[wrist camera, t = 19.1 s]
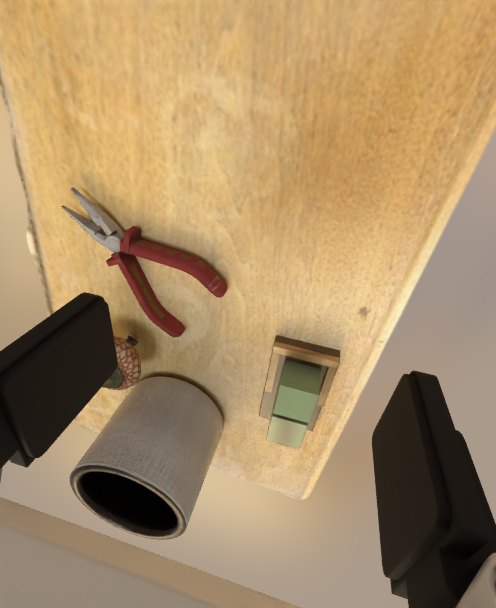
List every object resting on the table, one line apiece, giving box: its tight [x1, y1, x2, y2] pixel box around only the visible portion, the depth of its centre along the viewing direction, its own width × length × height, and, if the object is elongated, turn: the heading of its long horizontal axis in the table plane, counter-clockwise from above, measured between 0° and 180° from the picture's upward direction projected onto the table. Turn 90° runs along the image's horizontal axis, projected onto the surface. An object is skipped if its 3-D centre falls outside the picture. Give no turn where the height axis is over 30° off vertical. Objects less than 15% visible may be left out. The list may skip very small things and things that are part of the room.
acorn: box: [102, 336, 141, 390], centre depth 42 cm, size 8×8×10 cm
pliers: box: [61, 187, 227, 337], centre depth 37 cm, size 11×20×3 cm, turn 48°
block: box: [273, 360, 321, 423], centre depth 39 cm, size 4×5×4 cm
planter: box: [70, 377, 223, 539], centre depth 46 cm, size 16×16×16 cm
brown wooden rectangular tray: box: [259, 336, 340, 450], centre depth 41 cm, size 8×14×6 cm, turn 173°
